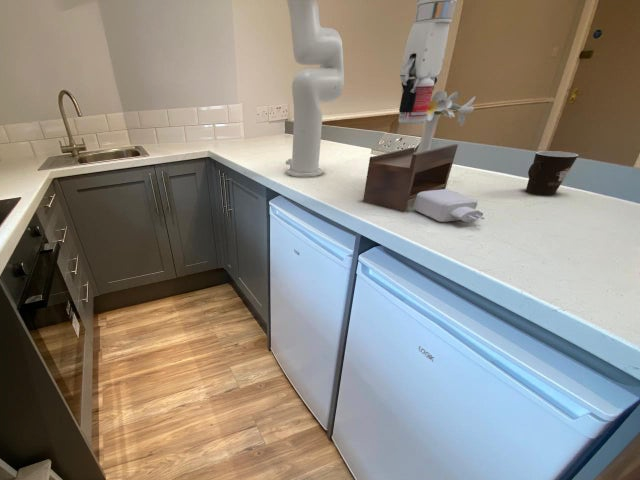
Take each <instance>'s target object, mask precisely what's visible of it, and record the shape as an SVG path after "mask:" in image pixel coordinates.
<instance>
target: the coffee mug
mask: <svg viewBox="0 0 640 480" xmlns="http://www.w3.org/2000/svg"><path fill="white" fill-rule="evenodd" d="M561 155H564V156H561ZM568 156H569V157H568ZM578 157H579V154H578V153H574V152H569V151H558V150H542V151H541V150H540V151H536V152H535V155H534V159H533V162H532V164H531V165H530V167H529V168H528V172H527V175H528V176H527V177H528V181H527V184H526V189H525V192H526V193H527V194H530V195H535V196H540V197H541V196H543V197H551V196H555V195H556V194H557V191H558V189H559V188H560V186H561V185H562V184H563V181H564V180H565V179H566V177H567V175H568V173H569V172H570V170H571V169H572V167H573V166H574V163H575V162H576V160H577V159H578Z"/></svg>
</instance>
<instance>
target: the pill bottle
mask: <svg viewBox="0 0 640 480" xmlns="http://www.w3.org/2000/svg"><path fill="white" fill-rule="evenodd" d="M432 74H433V68H431V69H430V70H429V72H428V75H427V77H425V78H420V80H419V83H418V85H417V88H416V90H415V92H414V93H417V94H416V98H415V103H414V108H413V111H412V112H410V113H408V112H399V114H398V123H400V124H424V122H425V120H426V116H427V112H428V107H429V103H430V98H431V99H432V95H431V94H433V91H434V90H433V85H434V82H433V80H431V79H430V77H431V76H432ZM412 76H416V75H412ZM413 82H414V81H412V84H413ZM434 86H435V85H434ZM432 90H433V91H432Z"/></svg>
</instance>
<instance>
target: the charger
mask: <svg viewBox="0 0 640 480" xmlns="http://www.w3.org/2000/svg"><path fill="white" fill-rule="evenodd" d="M477 205H478V199H477V198H474V197H472V196H468V195H465V194H462V193H460V192H457V191H453V190H450V189H448V188H445V189H441V190H432V191H423V192H420V193H418V194H417V196H416V198H415V199H414V204H413V210H414V211H416V212H418V213H420V214H423V215H424V216H427V217H429V218H431V219H432V220H435V221H437V222H439V223H445V222H455V221H463V222H465V223H470V222H475V221H477V220H478V219H481V220H485V217H484V213H483V212H482V211H480V210H477V209H476V208H477Z"/></svg>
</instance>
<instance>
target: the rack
mask: <svg viewBox="0 0 640 480" xmlns="http://www.w3.org/2000/svg"><path fill="white" fill-rule="evenodd" d="M458 147H459V144H457V143H453V144H449V145H445V146H441V147H438V148H437V147H436V148H432V149H430V150H429V151H425V152H421V153H417V151H416V152H415V149H416V147H414V146H412V147H407V148H403V149H398V150H395V151H390V152H386V153H381V154H377V155H373V156H369V160H368V166H367V173H366V178H365V186H364V192H363V197H362V202H364V203H367V204H371V205H375V206H379V207H383V208H387V209H391V210H395V211H400V212H406V211H407V209H408V206H409V205H408V204H409V202H410V201H412V200H415V199H416V196H417V194H418V193H420V192H423V191H432V190H441V189H447V184H448V181H449V178H450V174H451V171H452V168H453V164H454V161H455V158H456V154H457V151H458Z"/></svg>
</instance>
